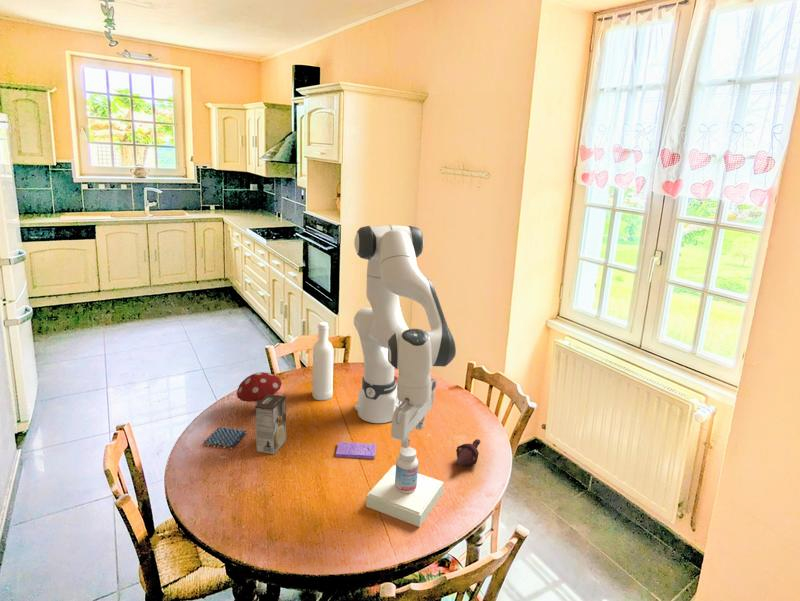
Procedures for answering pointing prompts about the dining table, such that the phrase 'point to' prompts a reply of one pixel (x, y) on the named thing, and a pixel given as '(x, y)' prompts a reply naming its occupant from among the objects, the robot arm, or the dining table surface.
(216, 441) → the woven mat
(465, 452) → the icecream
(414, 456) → the pill bottle
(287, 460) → the dining table surface
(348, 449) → the sponges
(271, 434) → the coffee box
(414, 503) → the base block
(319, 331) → the bottle
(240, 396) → the decorative mushroom
